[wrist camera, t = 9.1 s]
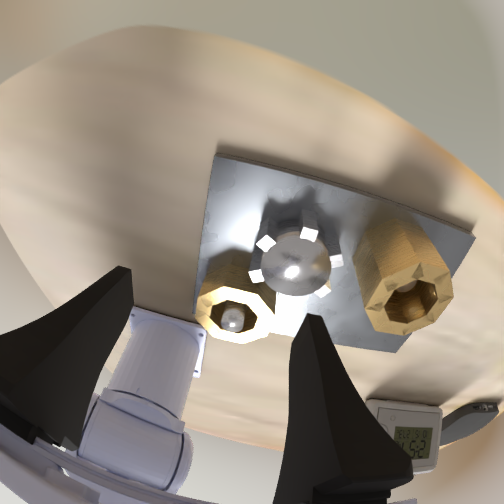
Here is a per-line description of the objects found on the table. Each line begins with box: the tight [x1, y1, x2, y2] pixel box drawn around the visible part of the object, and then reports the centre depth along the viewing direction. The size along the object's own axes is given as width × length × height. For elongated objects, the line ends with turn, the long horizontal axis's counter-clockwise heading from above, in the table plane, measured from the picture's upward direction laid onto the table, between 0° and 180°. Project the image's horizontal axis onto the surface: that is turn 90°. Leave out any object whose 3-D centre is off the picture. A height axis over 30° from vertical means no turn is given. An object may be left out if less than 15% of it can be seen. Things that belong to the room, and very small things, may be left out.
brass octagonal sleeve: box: [352, 218, 454, 336], centre depth 18 cm, size 6×6×5 cm
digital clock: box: [365, 399, 443, 475], centre depth 30 cm, size 16×9×11 cm, turn 58°
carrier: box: [192, 153, 476, 353], centre depth 21 cm, size 14×20×4 cm
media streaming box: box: [439, 403, 499, 446], centre depth 38 cm, size 15×15×3 cm
